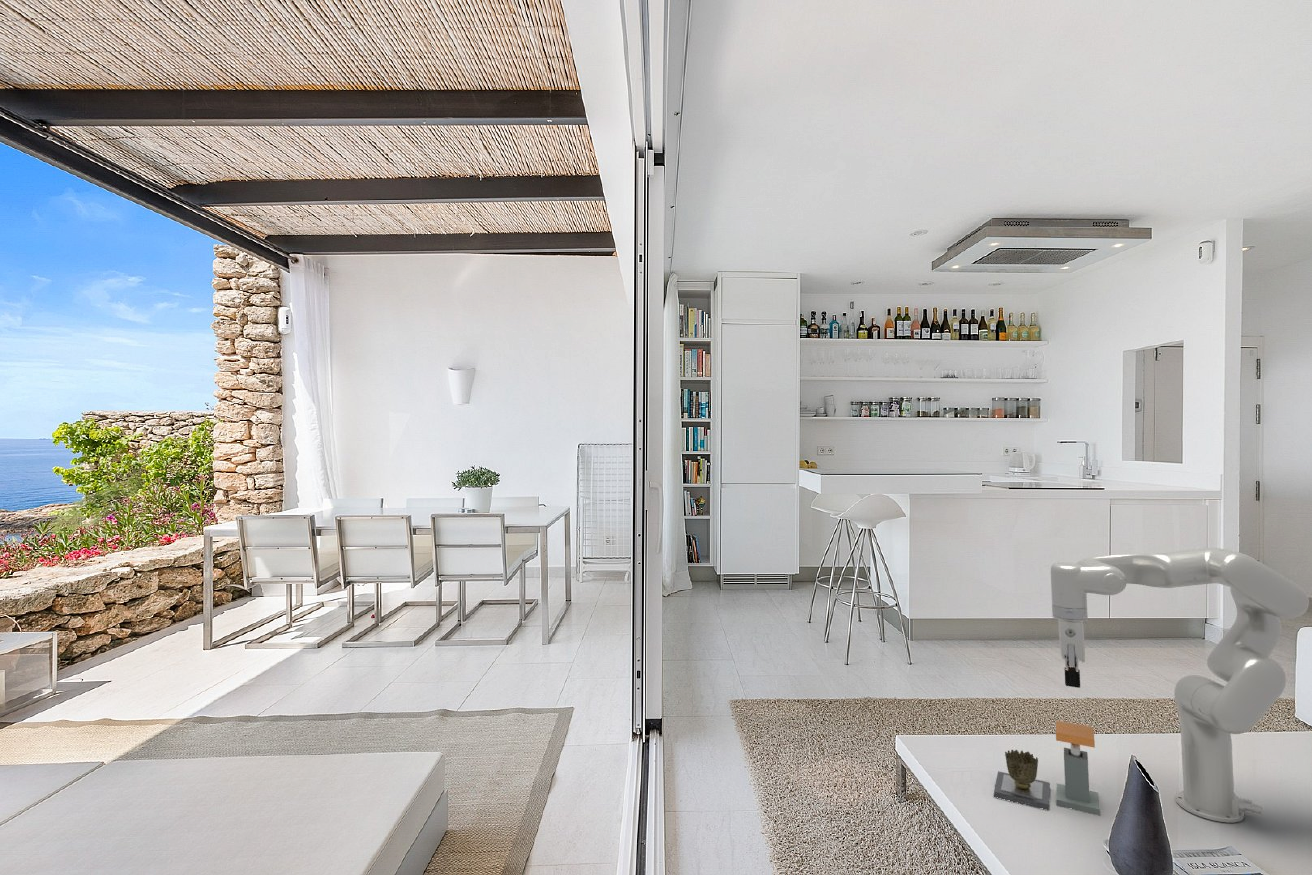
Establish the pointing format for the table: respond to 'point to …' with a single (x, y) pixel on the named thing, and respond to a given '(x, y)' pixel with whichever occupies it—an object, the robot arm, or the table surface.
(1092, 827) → the table surface
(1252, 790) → the table surface
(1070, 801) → the press stand
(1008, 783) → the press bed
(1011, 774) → the wire cup brush
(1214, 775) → the robot arm
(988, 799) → the table surface
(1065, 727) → the handle
